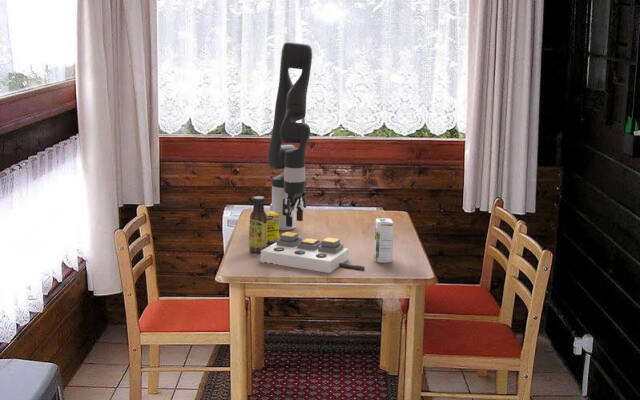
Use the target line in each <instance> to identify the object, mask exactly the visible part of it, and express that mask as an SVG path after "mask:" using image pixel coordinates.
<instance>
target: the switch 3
mask: <svg viewBox="0 0 640 400" xmlns="http://www.w3.org/2000/svg"><path fill="white" fill-rule="evenodd" d="M321 241H322V246H323V247H330V248H336V247H337V246H339V245H340V244H341V239H340V238H333V237H326V238H324V239H323V240H321Z"/></svg>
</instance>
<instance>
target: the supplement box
mask: <svg viewBox="0 0 640 400" xmlns="http://www.w3.org/2000/svg"><path fill="white" fill-rule="evenodd" d="M265 213H266V215H267V245H269V244H270V243H271V244H274V243H276V242H277V240H279V239H280V230H279V214H277V213H275V212H273V211H271V212H270V211H265ZM271 244H270V245H271Z"/></svg>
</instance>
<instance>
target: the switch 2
mask: <svg viewBox="0 0 640 400" xmlns="http://www.w3.org/2000/svg"><path fill="white" fill-rule="evenodd" d="M304 239H305V240H304ZM304 239H302V241H301V244H306V245H313V246H314V245H316V244H317V243H319V241H320V240H319V239H314V238H309V237H308V238H304Z"/></svg>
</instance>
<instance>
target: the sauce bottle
mask: <svg viewBox="0 0 640 400" xmlns="http://www.w3.org/2000/svg"><path fill="white" fill-rule="evenodd" d="M252 201H253V207H252V208H253V210H252V211H251V213H250V215H249V226H248V227H249V230H248V231H249V232H248V236H249V238H248V239H249V242H248V244H249V245H248V246H249V251H250V252H252V253H256V254H257V253H260V252H261V250H263V249H265V248H267V245H268V244H267V215H266V213H265V212H266V211H265V196H261V195H260V196H259V195H258V196H257V195H256V196H253V197H252ZM260 254H261V253H260Z"/></svg>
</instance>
